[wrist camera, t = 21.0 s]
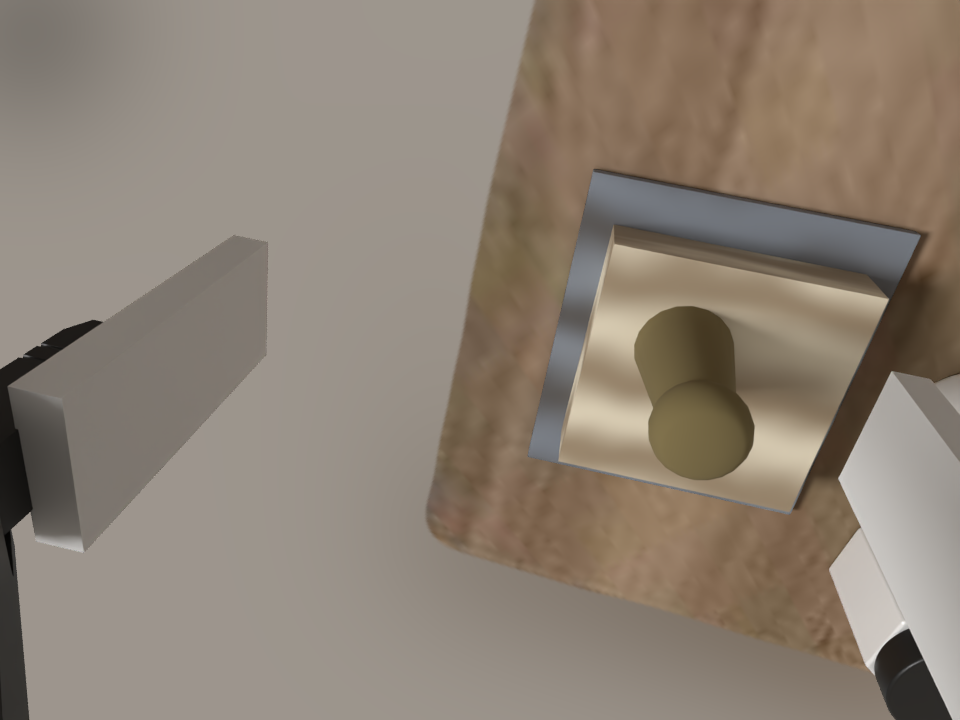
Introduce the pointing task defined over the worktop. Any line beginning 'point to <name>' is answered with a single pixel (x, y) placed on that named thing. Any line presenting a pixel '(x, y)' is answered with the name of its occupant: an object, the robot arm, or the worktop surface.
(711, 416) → the cork
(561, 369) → the plinth
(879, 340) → the worktop surface
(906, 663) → the jar
